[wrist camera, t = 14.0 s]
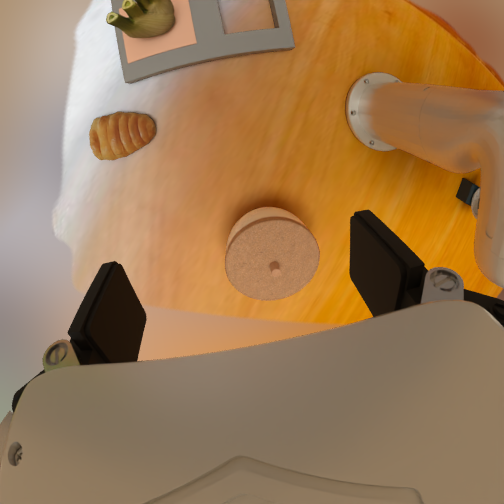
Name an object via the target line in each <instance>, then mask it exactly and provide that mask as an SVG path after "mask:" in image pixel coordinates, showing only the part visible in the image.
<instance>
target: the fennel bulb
mask: <svg viewBox="0 0 504 504" xmlns="http://www.w3.org/2000/svg"><path fill="white" fill-rule="evenodd" d="M135 1H136V2H134V1H133V0H124V1H123V3H122V9H123V10H124V11H125V12H126V14H127V15H128V16H129V17H127V18H126V17H124V16H122V15H120V14H117V13H114V12H111V13H108V15H107V18H106V21H107V23H108V24H110V25H113V26H115V27H117V28H119V29H120V30H122V31H123V32H124V33H125V34H127V36H129V37H132V38H150V37H155V36H159V35H163V34H165V33H167V32H168V31H169V30H170V29H171V28H172V27H173V25H174V24H175V16H174V6H173V4H172V2H171V0H135Z"/></svg>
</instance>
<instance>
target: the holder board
mask: <svg viewBox="0 0 504 504" xmlns="http://www.w3.org/2000/svg"><path fill="white" fill-rule="evenodd" d="M123 1H124V0H111V3H112V11H113V12H114V13H117V14H120V15H122V16H124V17H126V18H127V17H129V16H128V15H127V14H126V12H125V11H124V10H123V9H122V3H123ZM133 1H134V2H136V1H135V0H133ZM171 2H172V4H173V6H174V16H175V24H174V25H173V27H172V28H171V29H170V30H169V31H168V32H167V33H165V34H163V35H159V36H155V37H150V38H132V37H129V36H127V34H125V33H124V32H123V31H122V30H120V29H119V28H117V27H115V31H116V37H117V43H118V49H119V54H120V60H121V65H122V70H123V75H124V80H125V83H134V82H137V81H140V80H143V79H146V78H149V77H152V76H155V75H158V74H162V73H165V72H168V71H172V70H176V69H179V68H183V67H187V66H191V65H195V64H200V63H204V62H209V61H214V60H219V59H224V58H230V57H236V56H242V55H249V54H256V53H264V52H274V51H285V50H291V49H293V48H295V45H294V39H293V35H292V30H291V25H290V20H289V16H288V11H287V7H286V3H285V0H269V2H270V7H271V11H272V16H273V20H274V25H275V28H273V29H262V30H253V31H245V32H238V33H232V34H225V35H224V31H223V26H222V21H221V16H220V12H219V7H218V2H217V0H171Z"/></svg>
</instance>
